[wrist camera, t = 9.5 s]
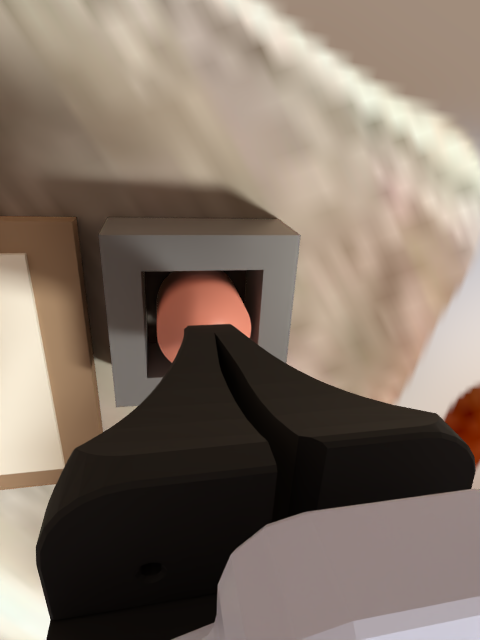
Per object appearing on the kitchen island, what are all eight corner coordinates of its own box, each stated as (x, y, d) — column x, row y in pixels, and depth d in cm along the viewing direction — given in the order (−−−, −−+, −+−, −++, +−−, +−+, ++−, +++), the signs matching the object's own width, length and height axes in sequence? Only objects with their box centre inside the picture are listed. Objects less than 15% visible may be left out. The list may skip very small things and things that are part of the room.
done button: (158, 339, 15) (158, 375, 13) (154, 263, 14) (154, 289, 12) (235, 335, 16) (248, 369, 14) (239, 262, 15) (253, 287, 12)
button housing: (121, 368, 16) (116, 407, 14) (107, 217, 14) (98, 235, 11) (266, 360, 17) (282, 394, 15) (278, 218, 15) (300, 235, 13)
